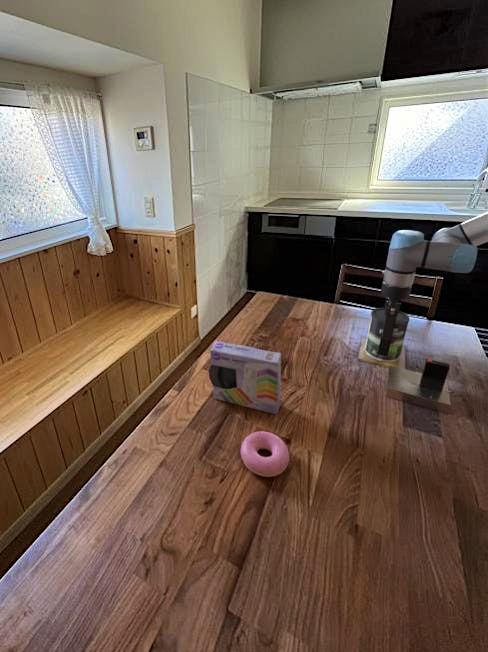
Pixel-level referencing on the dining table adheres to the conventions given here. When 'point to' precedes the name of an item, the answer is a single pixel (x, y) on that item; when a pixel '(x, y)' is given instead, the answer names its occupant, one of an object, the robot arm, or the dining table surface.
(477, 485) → the dining table surface
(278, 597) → the dining table surface
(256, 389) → the cake pan box
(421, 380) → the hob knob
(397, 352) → the coffee can
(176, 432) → the dining table surface
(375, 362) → the plate
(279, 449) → the doughnut
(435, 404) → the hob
